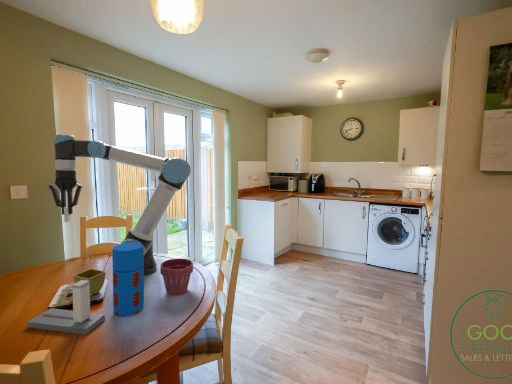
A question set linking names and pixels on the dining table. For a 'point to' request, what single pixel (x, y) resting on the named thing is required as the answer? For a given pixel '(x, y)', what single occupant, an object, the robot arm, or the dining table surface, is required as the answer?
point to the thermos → (128, 279)
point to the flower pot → (92, 279)
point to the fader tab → (81, 300)
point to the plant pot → (176, 275)
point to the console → (65, 321)
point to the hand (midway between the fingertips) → (67, 221)
